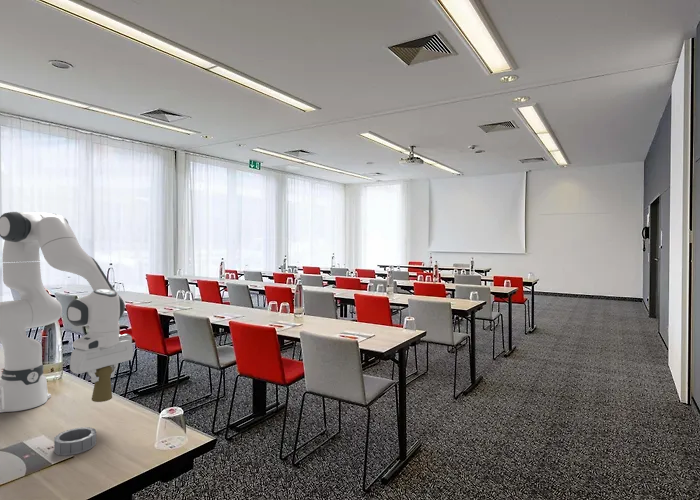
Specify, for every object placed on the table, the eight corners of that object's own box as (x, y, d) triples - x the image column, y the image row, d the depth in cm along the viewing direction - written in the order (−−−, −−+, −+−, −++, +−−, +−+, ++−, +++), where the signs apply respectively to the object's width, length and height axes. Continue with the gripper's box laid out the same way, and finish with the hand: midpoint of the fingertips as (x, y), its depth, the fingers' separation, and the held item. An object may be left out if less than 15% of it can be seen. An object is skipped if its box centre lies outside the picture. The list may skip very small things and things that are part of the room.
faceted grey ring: (46, 450, 126) (46, 438, 126) (81, 436, 135) (81, 424, 135) (68, 458, 121) (68, 446, 121) (103, 443, 131) (103, 431, 131)
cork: (102, 403, 140) (103, 370, 140) (87, 399, 142) (88, 367, 141) (116, 396, 146) (118, 364, 146) (101, 393, 148) (103, 362, 147)
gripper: (125, 331, 154) (124, 369, 154) (67, 343, 135) (66, 386, 136) (137, 333, 151) (136, 372, 152) (80, 346, 133) (79, 390, 133)
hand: (102, 379), depth 144 cm, fingers closed on cork, 4 cm apart
